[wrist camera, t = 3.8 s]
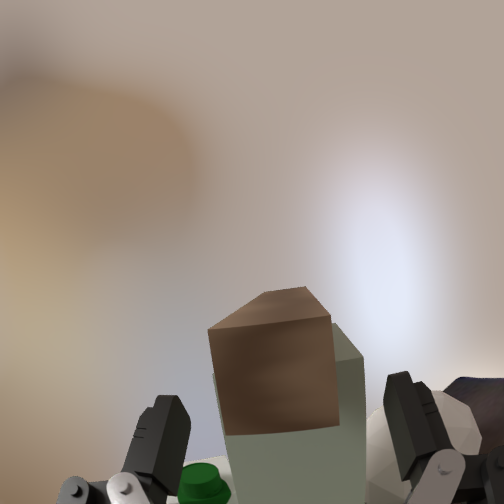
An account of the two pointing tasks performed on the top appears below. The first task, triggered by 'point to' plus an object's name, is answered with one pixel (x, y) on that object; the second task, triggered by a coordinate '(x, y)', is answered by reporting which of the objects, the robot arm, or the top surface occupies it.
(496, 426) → the top surface
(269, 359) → the walnut bar
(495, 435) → the top surface
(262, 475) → the sage stand
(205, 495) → the milk carton
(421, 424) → the robot arm
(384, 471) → the ball
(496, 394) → the top surface
